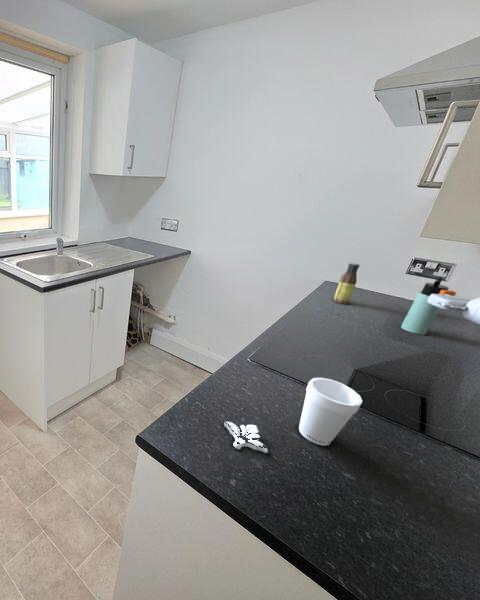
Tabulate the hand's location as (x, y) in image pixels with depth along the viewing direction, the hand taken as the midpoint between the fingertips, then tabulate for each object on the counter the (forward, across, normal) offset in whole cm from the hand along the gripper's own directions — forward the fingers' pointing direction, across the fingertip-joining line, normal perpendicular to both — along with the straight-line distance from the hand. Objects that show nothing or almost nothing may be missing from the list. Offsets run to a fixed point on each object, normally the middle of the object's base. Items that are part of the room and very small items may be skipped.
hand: (448, 296), depth 117 cm
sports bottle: (+6, 0, -18) cm, 19 cm away
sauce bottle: (+32, -15, -18) cm, 40 cm away
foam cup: (-70, -69, -18) cm, 100 cm away
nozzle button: (+1, 0, -2) cm, 2 cm away
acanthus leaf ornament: (-76, -86, -18) cm, 117 cm away
